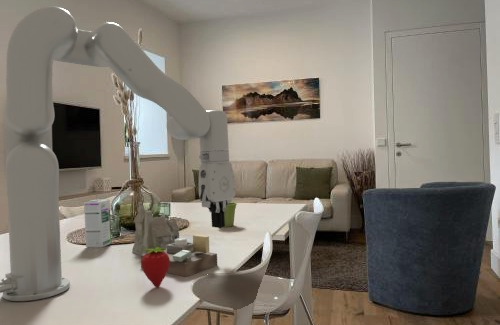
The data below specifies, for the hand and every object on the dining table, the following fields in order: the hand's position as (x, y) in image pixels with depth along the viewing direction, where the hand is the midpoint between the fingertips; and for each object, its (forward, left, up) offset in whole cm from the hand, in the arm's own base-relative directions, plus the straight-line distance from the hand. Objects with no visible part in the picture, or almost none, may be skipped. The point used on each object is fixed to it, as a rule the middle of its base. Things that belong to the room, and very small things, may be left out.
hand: (218, 226), depth 108 cm
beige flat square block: (-7, 0, -5) cm, 8 cm away
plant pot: (+39, +31, -9) cm, 51 cm away
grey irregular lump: (0, +23, -9) cm, 25 cm away
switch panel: (-10, +5, -9) cm, 14 cm away
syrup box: (-7, +45, -9) cm, 46 cm away
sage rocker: (-14, 0, -5) cm, 15 cm away
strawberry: (-24, -3, -9) cm, 26 cm away
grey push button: (-7, +7, -5) cm, 11 cm away
